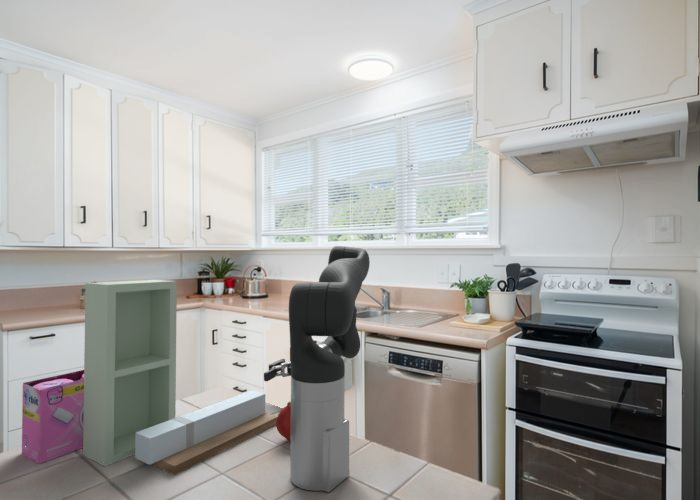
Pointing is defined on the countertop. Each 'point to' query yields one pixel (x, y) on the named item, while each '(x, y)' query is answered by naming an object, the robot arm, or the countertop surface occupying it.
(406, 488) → the countertop surface
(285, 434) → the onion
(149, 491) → the countertop surface
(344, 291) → the robot arm
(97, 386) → the shelf
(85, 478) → the countertop surface
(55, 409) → the gum box
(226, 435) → the board
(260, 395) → the light blue box
